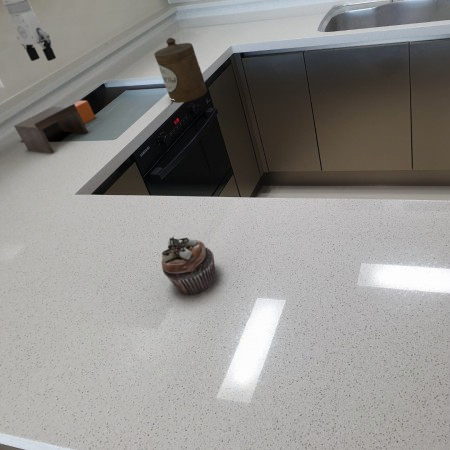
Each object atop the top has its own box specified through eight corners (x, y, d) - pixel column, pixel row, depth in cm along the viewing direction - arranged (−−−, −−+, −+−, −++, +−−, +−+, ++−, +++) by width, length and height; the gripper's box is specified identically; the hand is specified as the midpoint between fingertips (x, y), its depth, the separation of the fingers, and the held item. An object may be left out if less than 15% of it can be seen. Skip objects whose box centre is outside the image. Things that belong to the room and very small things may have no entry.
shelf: (28, 150, 165) (11, 121, 158) (64, 130, 176) (50, 102, 169) (51, 153, 158) (35, 123, 152) (88, 132, 169) (74, 103, 162)
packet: (69, 127, 177) (60, 110, 173) (87, 117, 183) (79, 100, 179) (77, 127, 175) (68, 110, 171) (95, 117, 181) (87, 100, 177)
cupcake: (219, 292, 85) (203, 251, 80) (168, 302, 86) (148, 262, 80) (221, 259, 93) (207, 220, 87) (175, 269, 93) (157, 230, 88)
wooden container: (167, 96, 186) (146, 41, 173) (201, 85, 190) (184, 30, 177) (175, 106, 174) (154, 47, 162) (211, 94, 178) (194, 35, 166)
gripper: (-6, 12, 156) (20, 63, 166) (24, 9, 148) (49, 63, 158) (14, 6, 161) (38, 56, 171) (44, 3, 153) (67, 56, 163)
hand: (43, 59), depth 164 cm, fingers open, 9 cm apart
